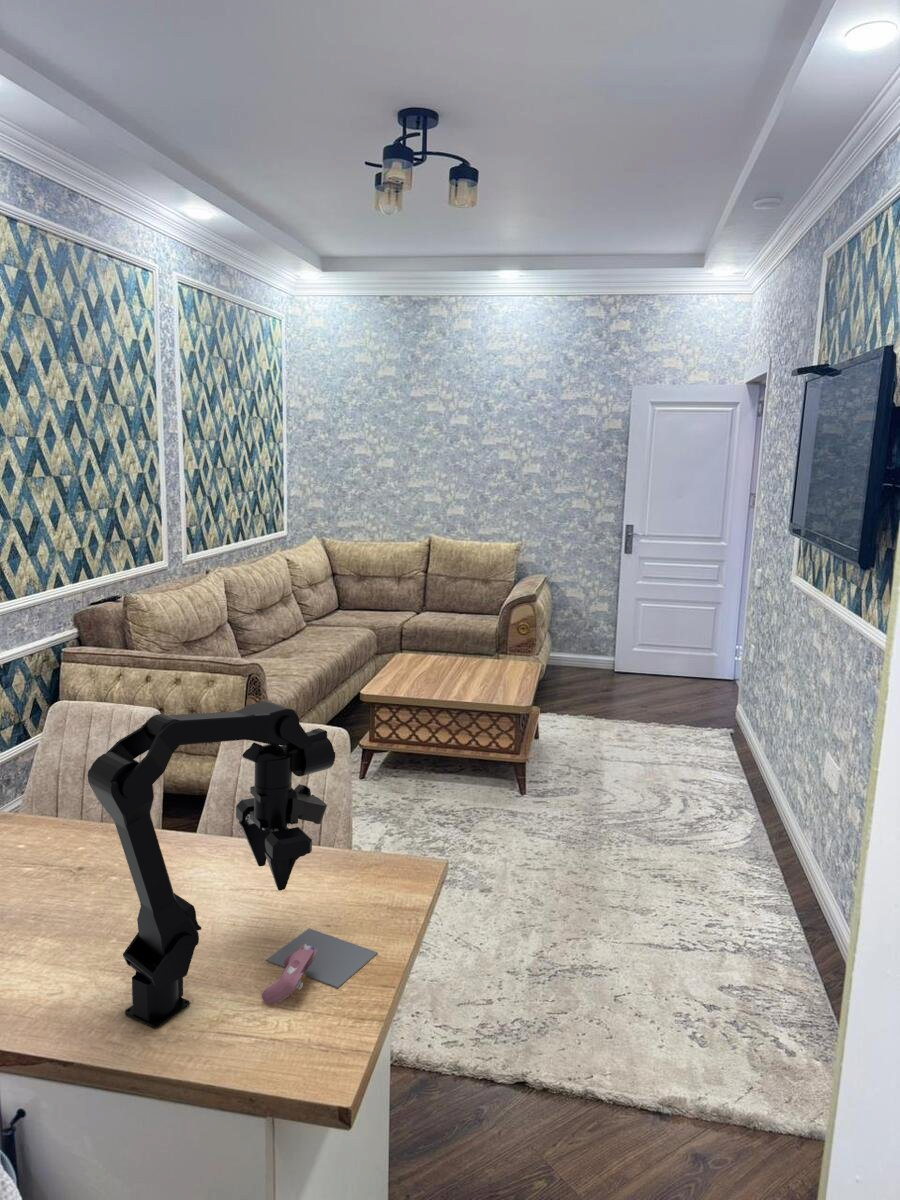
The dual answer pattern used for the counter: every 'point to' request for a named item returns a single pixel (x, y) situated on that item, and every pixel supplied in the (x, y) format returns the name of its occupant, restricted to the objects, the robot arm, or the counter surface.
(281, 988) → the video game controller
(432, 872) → the counter surface
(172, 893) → the robot arm
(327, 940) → the mat
